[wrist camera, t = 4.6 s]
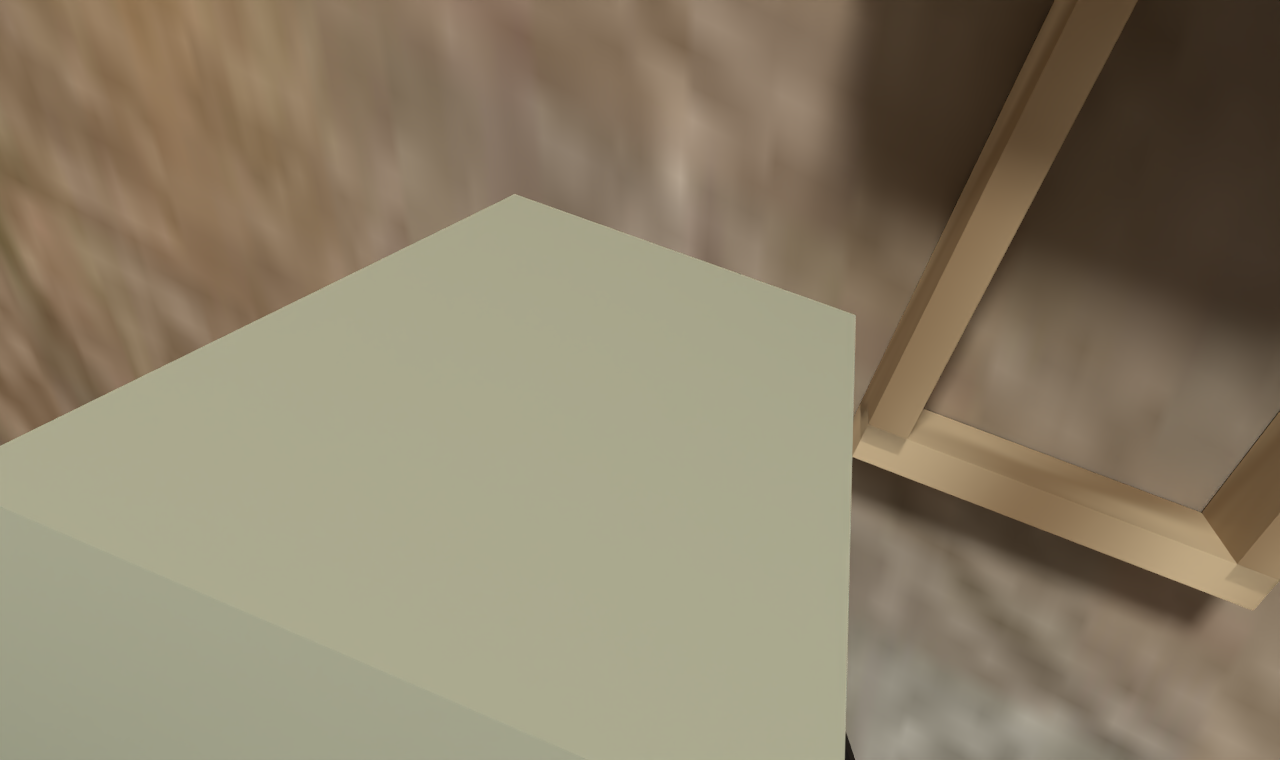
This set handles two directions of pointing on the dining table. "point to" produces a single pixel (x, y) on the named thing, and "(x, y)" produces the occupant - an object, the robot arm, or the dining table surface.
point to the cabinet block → (450, 521)
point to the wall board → (1008, 472)
